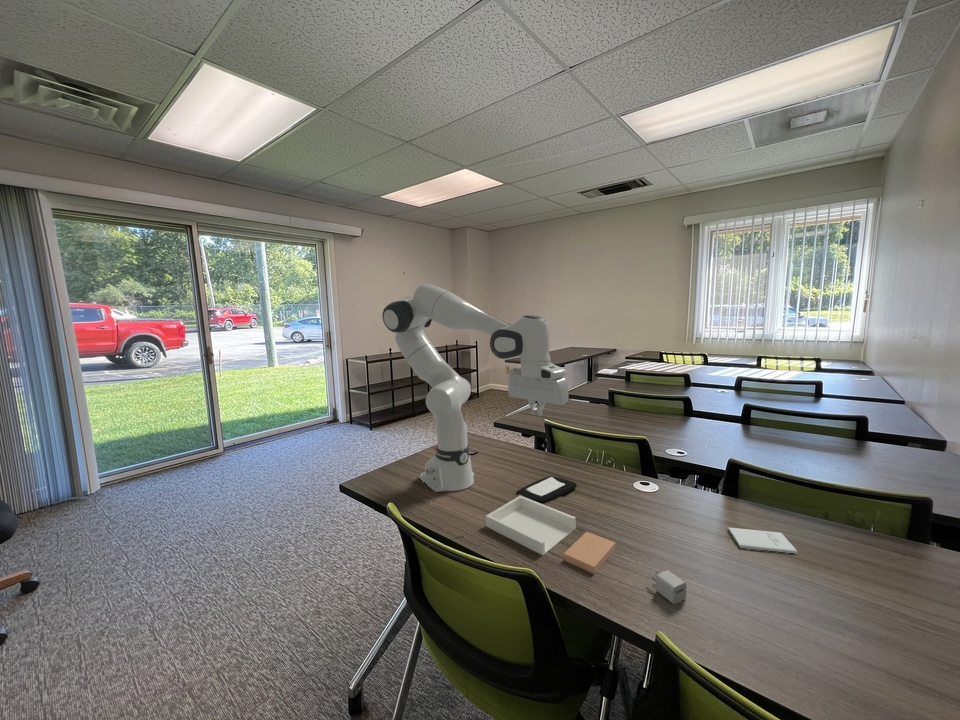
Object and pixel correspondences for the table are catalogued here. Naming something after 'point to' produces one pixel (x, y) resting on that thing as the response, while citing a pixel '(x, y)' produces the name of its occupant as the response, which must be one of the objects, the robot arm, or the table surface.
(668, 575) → the usb wall charger
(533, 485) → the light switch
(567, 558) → the light orange flat block
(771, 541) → the external hard drive
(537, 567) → the table surface
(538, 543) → the open box
